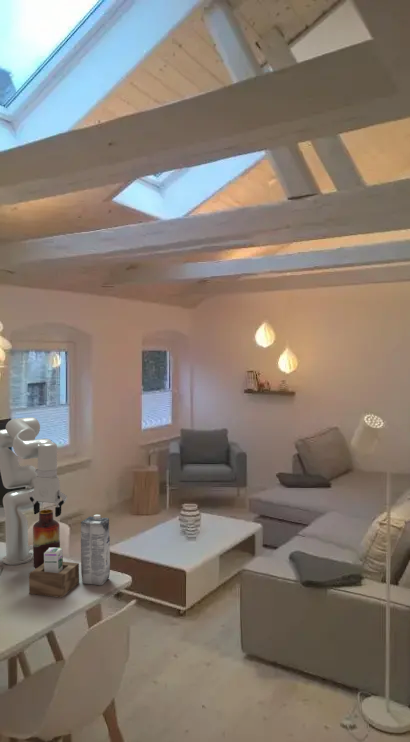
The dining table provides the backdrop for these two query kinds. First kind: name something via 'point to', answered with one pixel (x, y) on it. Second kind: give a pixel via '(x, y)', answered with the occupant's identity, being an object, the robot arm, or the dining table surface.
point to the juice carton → (95, 550)
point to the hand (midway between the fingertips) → (47, 514)
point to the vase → (45, 536)
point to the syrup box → (53, 560)
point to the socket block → (54, 580)
